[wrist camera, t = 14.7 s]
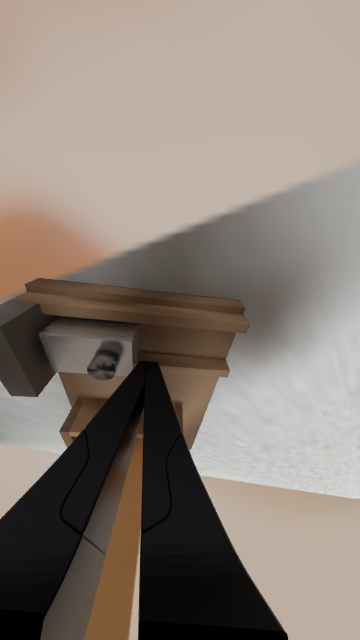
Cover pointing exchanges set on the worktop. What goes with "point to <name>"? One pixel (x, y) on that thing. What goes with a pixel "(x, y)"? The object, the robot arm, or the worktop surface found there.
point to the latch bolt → (92, 346)
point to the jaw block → (120, 561)
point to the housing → (155, 345)
